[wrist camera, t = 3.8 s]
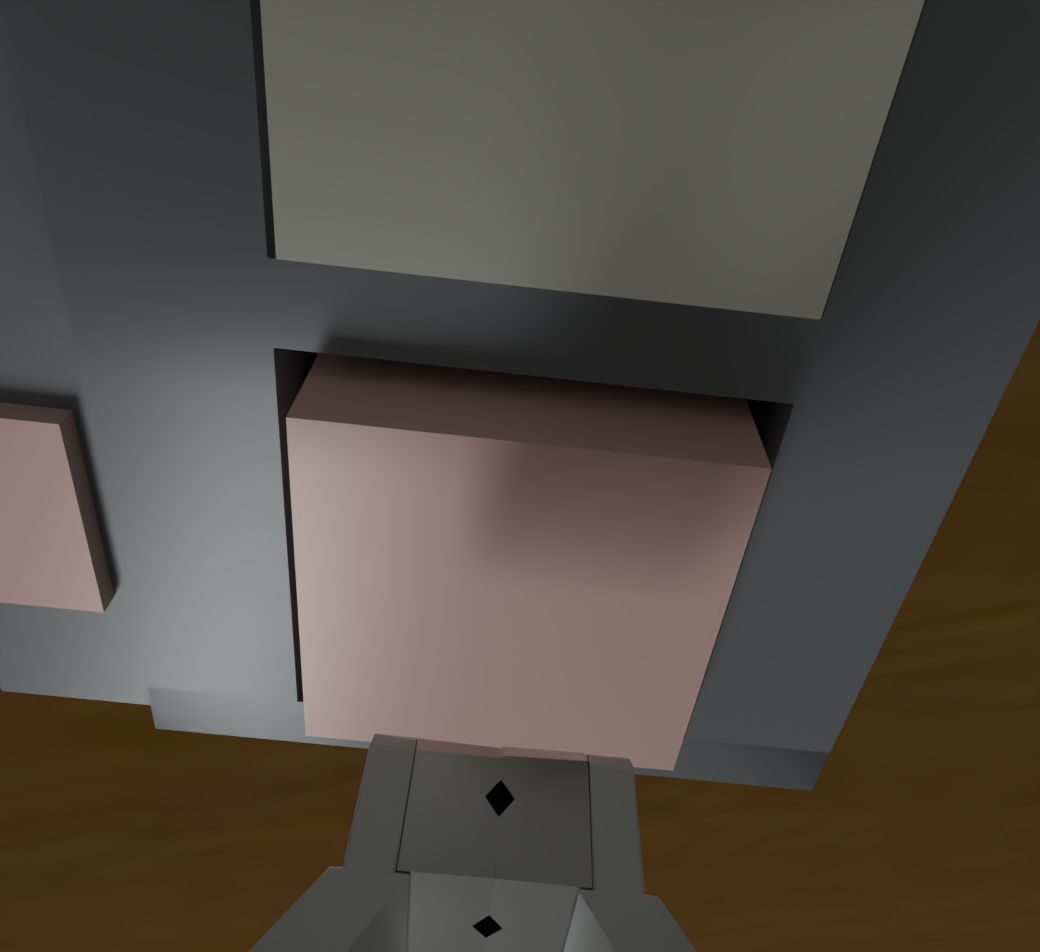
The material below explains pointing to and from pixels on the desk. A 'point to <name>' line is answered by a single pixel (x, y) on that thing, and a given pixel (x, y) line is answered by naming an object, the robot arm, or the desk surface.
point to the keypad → (461, 344)
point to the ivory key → (582, 140)
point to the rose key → (513, 554)
